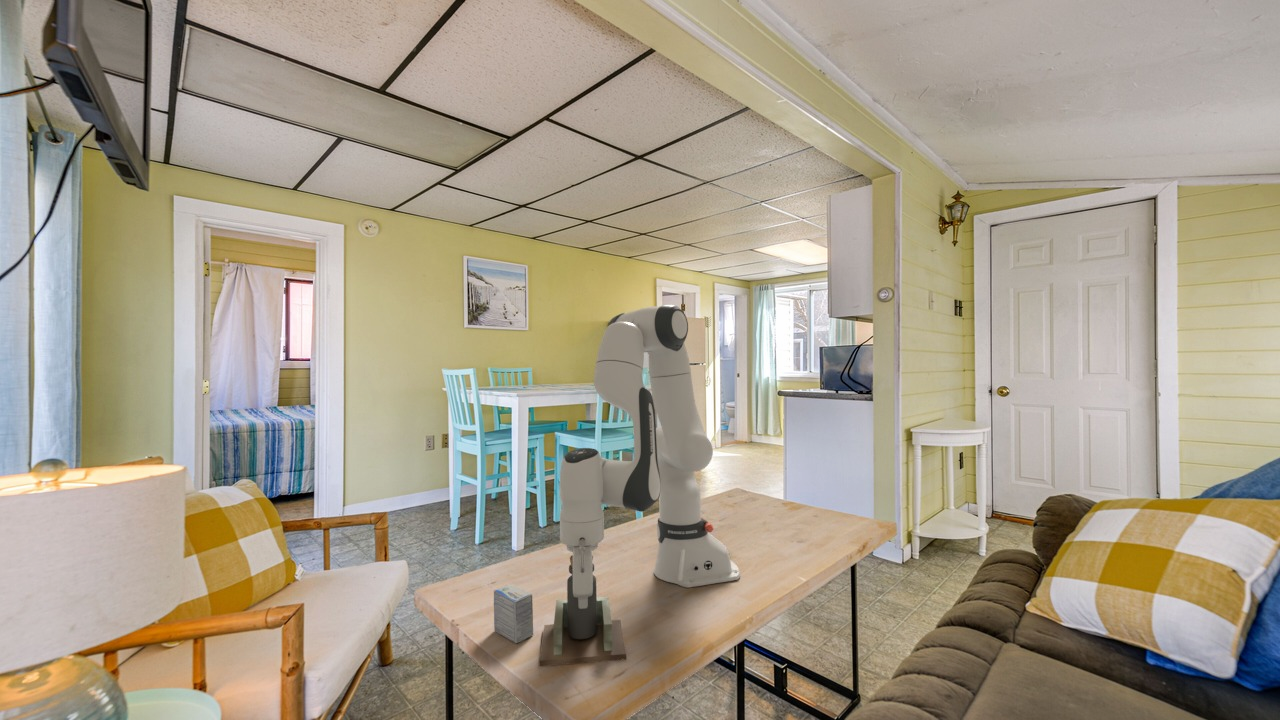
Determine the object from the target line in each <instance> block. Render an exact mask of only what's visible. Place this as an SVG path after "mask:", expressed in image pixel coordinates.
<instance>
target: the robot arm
mask: <svg viewBox="0 0 1280 720" xmlns="http://www.w3.org/2000/svg"><path fill="white" fill-rule="evenodd" d="M688 332H689V322H688V319H687V315H686V313H685V312H684V311H683V310H682V309H681V308H680V307H679V306H677V305H674V304H661V306H660V305H659V306H657V305H656V306H646V307H642V308H639V309H636V310H632V311H628V312H623V313H620V314H617V315H615V316H614V317H612V318H611V319H610V320H609V322H608V324H607V327H606V328H605V330H604V333H603V336H602V337H601V341H600V344H599V347H598V351H597V356H596V362H595V367H594V374H593V385H594V389H595V391H596V393H597V395H599V397H600V398H601V399H602V400H603V401H605V402H606V403H608V404H610V405H611V406H613V407H615V408H617V409H619V410H622V411H624V412H625V413H627V414H628V415H629V417H630V418H631V421H632V425H633V426H632V427H633V450H634V451H633V453H634V454H633V456H634V457H633V458H632V460H617V459H615V460H614V459H608V458H605V457H602V456H601V455H600V451H598V449H596V448H592V447H580V448H577V449H576V448H575V449H573V450H572V449H571V450H570V451H568V452H567V453H565V454H564V455H563V457H562V460H561V465H560V472H559V473H560V474H559V498H560V502H561V510H560V513H559V540H560V542H561V543H562V544H563V545H565V546H566V550H567V551H569V552H571V553H572V555H573V595H574V597H578V607H579V608H580V609H583V608H587V607H588V597H589V596H592V593H593V575H594V574H593V573H594V571H593V568H592V563H593V561H592V555H593V552H594V551H595V550H596V549H598V548H599V543H601V542H602V541H603V540H604V539H605V524H604V523H605V522H604V520H605V517H604V515H605V514H604V509H603V505H605V506H608V507H609V506H611V507H617V508H618V507H619V508H624V509H629V510H633V511H636V512H640V513H641V512H642V513H643V512H645V511H647V510H648V509H649V508H651V507H652V506H653V505H654V504H656V502H657V501H658V512H659V513H658V514H659V516H658V518H657V531H656V532H657V540H658V546H657V555H656V562H655V566H654V569H653V574H654V575H655V576H656V577H657V578H658V579H660V580H661V581H664V582H668V583H671V584H676V585H679V586H680V587H683V588H694V587H701V586H706V585H712V584H719V583H726V582H731V581H737V580H739V579H740V576H741V571H740V568H739V567H738V565H737V564H736V563H735V562H734V561H733V560H731V558H730V557H731V556H730V553H729V550H728V548H727V547H726V545H724V543H722V541H720V540H718V539H717V538H716V537H715V536H714V535H712V534H711V533H712V532H713V531H714V526H713V524H712V523H711V522H708V520H706V519H704V517H702V513H701V512H702V510H701V507H702V506H701V488H700V485H699V483H698V481H697V479H696V474H695V472H699V471H702V470H704V469H705V468H707V466H708V465H709V464H710V463H711V461H712V458H713V454H714V453H713V452H714V450H713V445H712V442H711V440H710V438H708V436H707V434H706V432H705V430H704V426H703V423H702V421H701V417H700V414H699V411H698V408H697V404H696V400H695V394H694V393H695V392H694V386H693V378H692V377H693V376H692V371H691V364H690V359H689V355H688V354H689V353H688V352H687V348H686V347H687V346H686V344H685V341H686V339H687V336H688ZM644 353H647V354H648V373H649V380H650V381H649V382H650V389H651V390H648V389H647V388H646V387H645V384H644V380H643V379H644V378H643V371H644V360H645V359H644V357H645V356H644ZM655 412H656V413H655ZM656 415H657V418H658V420H659V423H660V425H659V426H657V425H656ZM581 571H582V572H583V573H582V572H581Z"/></svg>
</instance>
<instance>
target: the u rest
mask: <svg viewBox="0 0 1280 720" xmlns="http://www.w3.org/2000/svg"><path fill="white" fill-rule="evenodd" d="M624 639H625V637H624V633H623V627H622V621H621V619H612V613H611V606H610V597H609V596H599V597H598V596H597V632H596V634H595V635H594V636H592V637H590V638H587V639H574V638H572V637H570V636H569V635H568V611H567V599H557V600H556V601H555V611H554V620H553V623H552V624H544V626H543V633H542V639H541V640H542V641H541V642H542V643H541V648H540V655H539V667H544V666H545V667H548V666H560V665H573V664H583V663H584V664H585V663H596V662H598V663H599V662H607V661H608V662H609V661H621V660H622V659H623V660H627V651H626V645H625V640H624Z"/></svg>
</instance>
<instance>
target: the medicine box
mask: <svg viewBox="0 0 1280 720" xmlns="http://www.w3.org/2000/svg"><path fill="white" fill-rule="evenodd" d="M533 605H534V604H533V594H532V593H531V592H529V591H527V590H524V589H523V588H521V587H519V586H516V585H515V584H512V583H510V584H509V583H508V584H507V585H504V586H501V587H499V588H497V589H495V590H493V620H494V621H493V622H494V623H493V626H494V629H493V630H494V631H495V632H496V633H498V634H499V635H500V636H503V637H505V638H506V639H508V640H509V641H510V642H513V643H514V644H518V643H520V642H523V641H524V640H526V639H528V638H530V637H533V636H534V609H533Z"/></svg>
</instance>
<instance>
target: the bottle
mask: <svg viewBox="0 0 1280 720" xmlns="http://www.w3.org/2000/svg"><path fill="white" fill-rule="evenodd" d="M593 560H594V556H593V554H592V568H593V572H594V571H595V563H593ZM569 561H570V565H568V571H569V572H568V573H569V574H571V575H570V576H569V577H568V579H567V582H566V584H567V585H566V587H567V588H566V589H567V590H566V591H567V593H566V594H567V597H566V600H567V611H568V635H569V636H570V637H572V638H574V639H587V638H590V637H592V636H594V635H595V634H596V632H597V597H598V595H597V578H596V577H597V576H595V575H594V574H593V593H592V596H589V597H588V607H587V608H583V609H580V608H579V607H578V597H574V595H573V554H572V555H570V556H569ZM581 572H582V571H581ZM582 573H583V572H582Z"/></svg>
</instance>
